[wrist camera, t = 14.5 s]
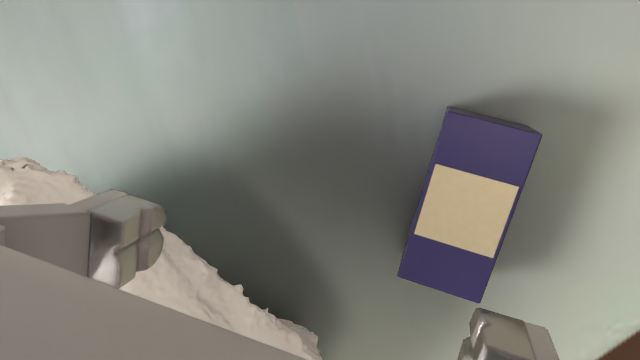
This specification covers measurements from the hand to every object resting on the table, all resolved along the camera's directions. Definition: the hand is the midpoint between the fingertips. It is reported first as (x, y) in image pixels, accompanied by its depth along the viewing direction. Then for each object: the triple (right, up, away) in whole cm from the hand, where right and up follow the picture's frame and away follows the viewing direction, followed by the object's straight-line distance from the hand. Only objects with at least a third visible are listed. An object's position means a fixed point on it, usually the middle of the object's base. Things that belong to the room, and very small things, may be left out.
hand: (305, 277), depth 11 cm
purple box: (+9, +2, +16) cm, 18 cm away
